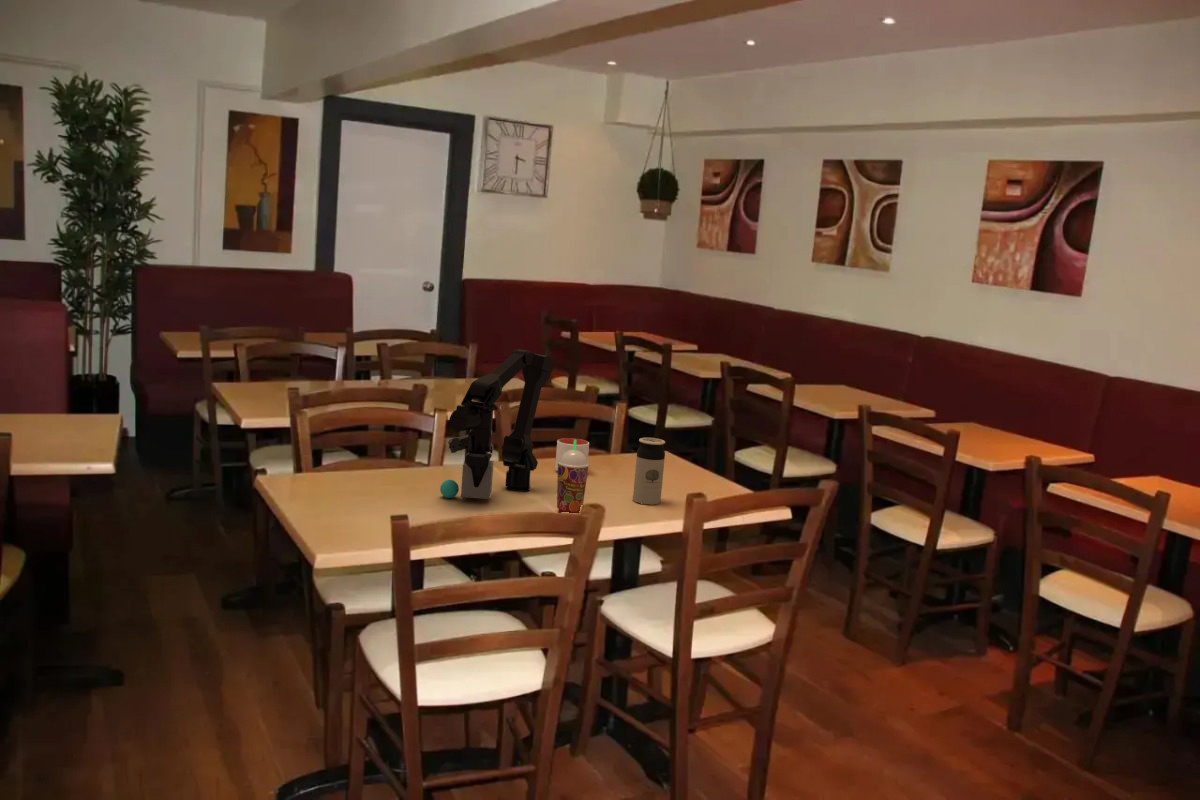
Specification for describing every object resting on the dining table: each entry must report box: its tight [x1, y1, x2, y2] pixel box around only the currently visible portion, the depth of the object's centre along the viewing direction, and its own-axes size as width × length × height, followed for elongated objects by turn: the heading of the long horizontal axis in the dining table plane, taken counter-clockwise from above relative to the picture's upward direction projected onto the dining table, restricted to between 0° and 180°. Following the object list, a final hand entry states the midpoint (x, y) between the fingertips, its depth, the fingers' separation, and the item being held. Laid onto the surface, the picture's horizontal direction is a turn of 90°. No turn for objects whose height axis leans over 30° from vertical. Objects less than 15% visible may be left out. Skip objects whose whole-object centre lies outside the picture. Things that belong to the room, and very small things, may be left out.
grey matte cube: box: [460, 460, 495, 500], centre depth 277 cm, size 8×8×9 cm
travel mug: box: [632, 437, 666, 505], centre depth 290 cm, size 8×8×18 cm
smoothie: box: [556, 440, 590, 513], centre depth 271 cm, size 8×8×20 cm
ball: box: [439, 479, 460, 499], centre depth 277 cm, size 5×5×5 cm
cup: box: [554, 437, 590, 472], centre depth 318 cm, size 10×10×10 cm
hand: (477, 483), depth 277 cm, fingers closed on grey matte cube, 8 cm apart
